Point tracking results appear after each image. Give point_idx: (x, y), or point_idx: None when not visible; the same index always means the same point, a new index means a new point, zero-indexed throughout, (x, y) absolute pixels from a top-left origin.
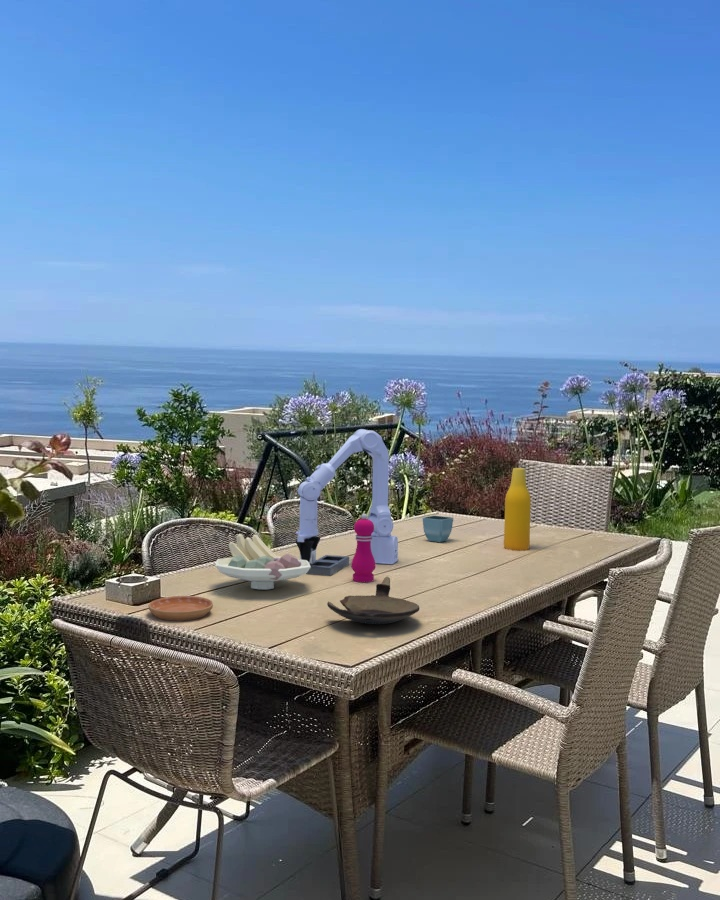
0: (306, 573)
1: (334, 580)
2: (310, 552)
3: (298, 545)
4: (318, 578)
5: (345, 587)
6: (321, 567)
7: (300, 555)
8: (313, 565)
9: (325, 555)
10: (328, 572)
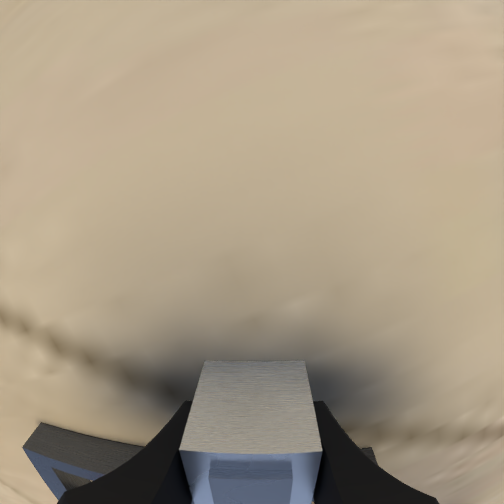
0: (41, 426)
1: (45, 494)
2: (196, 500)
3: (91, 491)
4: (26, 460)
5: (16, 500)
6: (55, 495)
7: (189, 418)
8: (53, 475)
9: None
10: None
